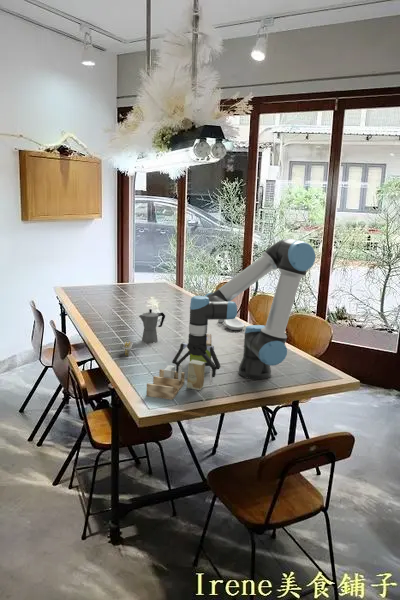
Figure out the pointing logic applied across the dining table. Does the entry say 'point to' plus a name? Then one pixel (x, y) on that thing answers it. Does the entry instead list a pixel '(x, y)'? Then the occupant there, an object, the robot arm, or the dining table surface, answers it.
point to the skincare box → (196, 374)
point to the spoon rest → (233, 324)
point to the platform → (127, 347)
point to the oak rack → (165, 386)
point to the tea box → (200, 358)
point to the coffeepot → (151, 325)
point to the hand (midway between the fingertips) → (195, 381)
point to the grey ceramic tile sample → (169, 372)
